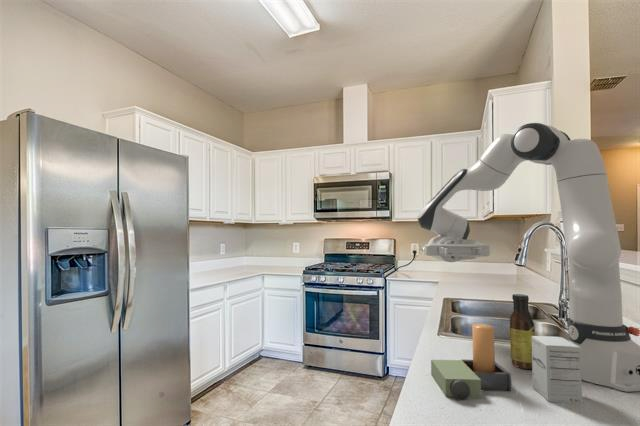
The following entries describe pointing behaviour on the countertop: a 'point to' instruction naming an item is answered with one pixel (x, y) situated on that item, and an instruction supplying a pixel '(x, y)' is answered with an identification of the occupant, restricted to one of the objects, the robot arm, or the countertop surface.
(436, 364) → the green rectangular block
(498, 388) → the frame
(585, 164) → the robot arm
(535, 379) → the supplement box
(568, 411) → the countertop surface
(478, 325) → the orange cylinder
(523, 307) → the sauce bottle
